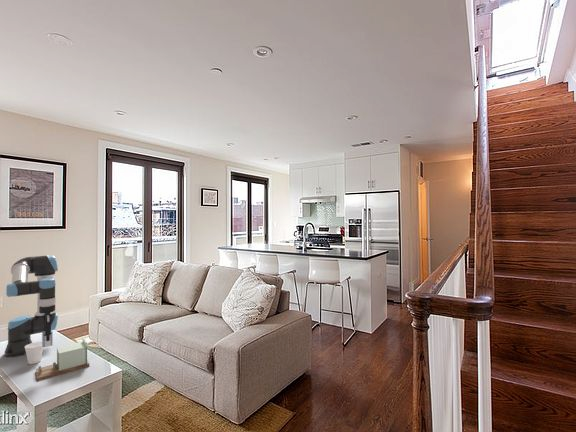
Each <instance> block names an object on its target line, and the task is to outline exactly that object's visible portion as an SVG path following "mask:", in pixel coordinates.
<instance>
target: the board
mask: <svg viewBox="0 0 576 432" xmlns="http://www.w3.org/2000/svg"><path fill="white" fill-rule="evenodd" d="M88 367H90V362H89V361H88V359H87V364H83V365H79V366H76V367H72V368H68V369H65V370H61V371H59V364H58V365H57V361H56V362H55V361H54V362H53V363H52V364H51V365H46V366H44V367H42V366H41V365H39V366H38V368H35V375H36V381H37V382H38V381H41V380H45V379H48V378H49V379H50V378H53V377H56V376H59V375H63V374H67V373H70V372H71V373H72V372H74V371H78V370H81V369H85V368H88Z"/></svg>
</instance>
